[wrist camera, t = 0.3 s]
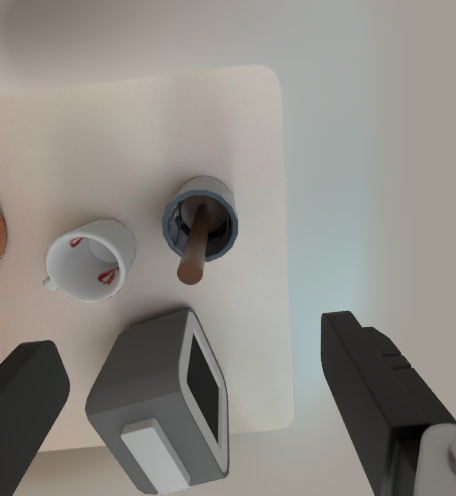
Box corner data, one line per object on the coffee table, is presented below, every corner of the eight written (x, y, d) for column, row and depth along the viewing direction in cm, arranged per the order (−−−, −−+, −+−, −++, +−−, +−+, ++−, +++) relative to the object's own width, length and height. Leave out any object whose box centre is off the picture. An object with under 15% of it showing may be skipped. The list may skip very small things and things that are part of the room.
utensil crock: (188, 166, 34) (176, 177, 26) (243, 189, 35) (250, 207, 27) (168, 220, 36) (152, 246, 28) (221, 240, 38) (220, 272, 29)
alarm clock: (227, 385, 46) (230, 500, 32) (160, 403, 48) (133, 522, 33) (189, 300, 41) (171, 393, 26) (114, 323, 42) (57, 424, 27)
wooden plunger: (192, 177, 34) (163, 221, 17) (233, 194, 35) (244, 253, 18) (177, 217, 36) (137, 293, 19) (217, 233, 37) (213, 319, 20)
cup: (88, 289, 40) (57, 325, 32) (48, 240, 37) (4, 267, 30) (156, 253, 38) (140, 283, 31) (119, 199, 35) (91, 217, 28)
